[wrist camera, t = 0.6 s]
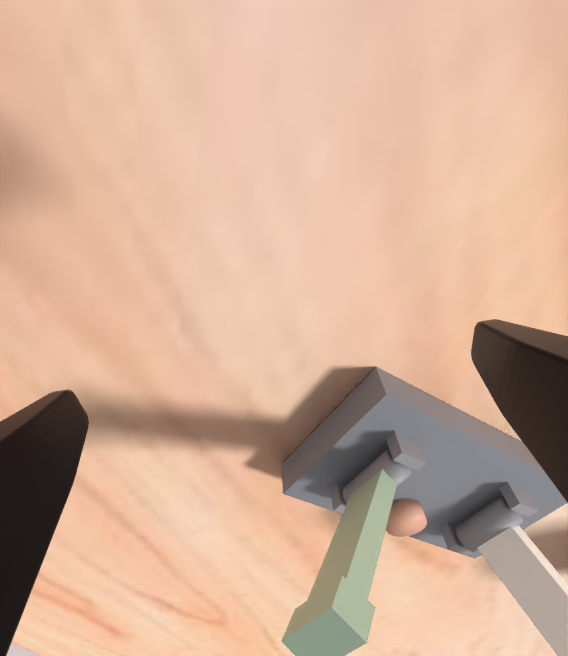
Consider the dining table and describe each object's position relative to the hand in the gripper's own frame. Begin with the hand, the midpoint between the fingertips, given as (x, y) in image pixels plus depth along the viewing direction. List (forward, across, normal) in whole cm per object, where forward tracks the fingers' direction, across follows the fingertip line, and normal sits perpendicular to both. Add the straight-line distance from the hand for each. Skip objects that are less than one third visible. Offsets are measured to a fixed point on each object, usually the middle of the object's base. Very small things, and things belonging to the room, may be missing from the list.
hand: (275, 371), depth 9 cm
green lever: (+9, +4, -18) cm, 21 cm away
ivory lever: (+9, +12, -25) cm, 30 cm away
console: (+12, +9, -22) cm, 27 cm away
